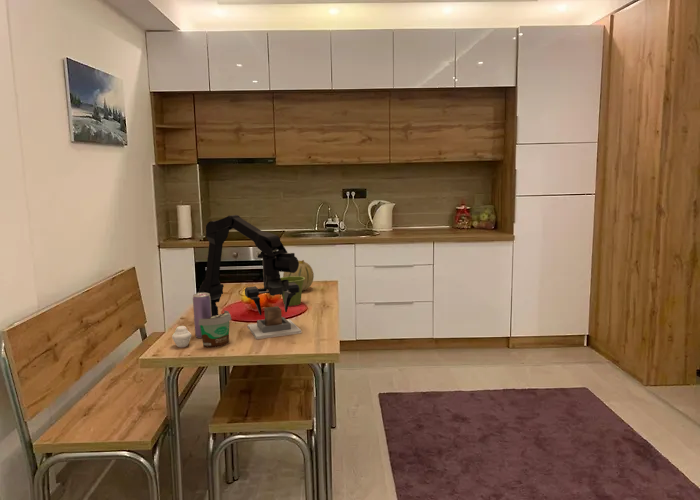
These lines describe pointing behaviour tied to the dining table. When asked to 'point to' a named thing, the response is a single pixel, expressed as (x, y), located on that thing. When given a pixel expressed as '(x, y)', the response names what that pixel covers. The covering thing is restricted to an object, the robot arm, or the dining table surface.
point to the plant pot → (296, 298)
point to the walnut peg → (273, 316)
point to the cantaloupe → (303, 274)
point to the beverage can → (201, 310)
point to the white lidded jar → (181, 336)
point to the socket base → (273, 329)
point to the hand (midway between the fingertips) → (273, 313)
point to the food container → (215, 330)
